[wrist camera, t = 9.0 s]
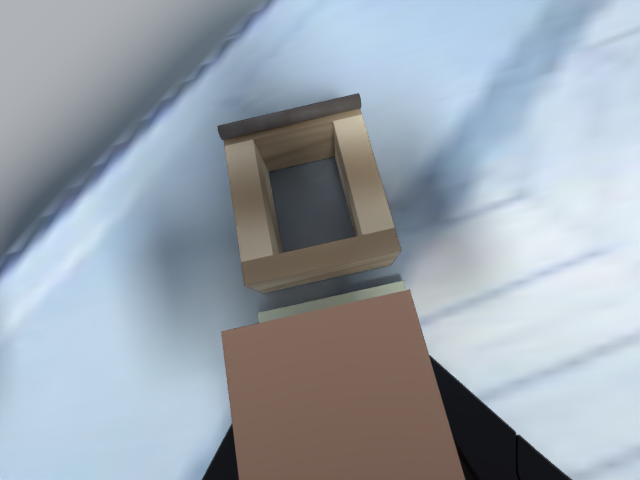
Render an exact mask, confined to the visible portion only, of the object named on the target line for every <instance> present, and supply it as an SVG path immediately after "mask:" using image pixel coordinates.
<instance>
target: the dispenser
mask: <svg viewBox="0 0 640 480" xmlns="http://www.w3.org/2000/svg"><path fill="white" fill-rule="evenodd" d="M360 108H361V99H360V95H359V93H358V94H354V95H349V96H345V97H341V98H336V99H332V100H328V101H323V102H319V103H315V104H310V105H306V106H302V107H297V108H293V109H289V110H284V111H280V112H276V113H271V114H267V115H263V116H258V117H254V118H250V119H245V120H241V121H237V122H232V123H228V124H224V125H219V126H218V132H219V135H220V137H221V139H222V140H224V147H225V154H226V161H227V168H228V175H229V182H230V189H231V196H232V203H233V210H234V217H235V224H236V231H237V238H238V245H239V252H240V259H241V265H242V272H243V279H244V286H247V287H249V288H251V289H254V290H256V291H259V292H261V293H268V292H273V291H277V290H282V289H286V288H291V287H295V286H300V285H304V284H309V283H313V282H318V281H322V280H327V279H331V278H336V277H340V276H345V275H349V274H354V273H358V272H363V271H367V270H372V269H376V268H381V267H385V266H390V265H391V264H392V263H393V261H394V260H395V259H396V257H397V256H398V255H399V253H400V252H401V247H400V244H399V240H398V237H397V233H396V230H395V227H394V223H393V220H392V216H391V213H390V209H389V206H388V203H387V199H386V196H385V192H384V189H383V185H382V182H381V179H380V175H379V172H378V168H377V165H376V161H375V158H374V154H373V151H372V148H371V144H370V141H369V137H368V134H367V130H366V127H365V124H364V120H363V117H362V113H361V110H360ZM331 157H335V158H336V162H337V166H338V170H339V174H340V178H341V182H342V186H343V190H344V194H345V198H346V202H347V206H348V210H349V214H350V218H351V222H352V226H353V230H354V234H355V237H351V238H347V239H342V240H338V241H333V242H329V243H324V244H320V245H315V246H311V247H306V248H302V249H298V250H293V251H289V252H284V253H283V247H282V242H281V236H280V231H279V225H278V220H277V214H276V209H275V204H274V198H273V193H272V187H271V182H270V176H269V172H270V171H274V170H279V169H283V168H287V167H292V166H296V165H301V164H305V163H309V162H314V161H318V160H322V159H327V158H331Z"/></svg>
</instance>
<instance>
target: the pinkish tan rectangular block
mask: <svg viewBox="0 0 640 480" xmlns="http://www.w3.org/2000/svg"><path fill="white" fill-rule="evenodd" d="M221 334H222V342H223V350H224V359H225V367H226V375H227V384H228V392H229V400H230V408H231V417H232V425H233V433H234V442H235V450H236V458H237V466H238V475H239V480H465V477H464V474H463V470H462V467H461V463H460V460H459V457H458V453H457V450H456V446H455V443H454V439H453V436H452V433H451V429H450V426H449V422H448V419H447V415H446V412H445V409H444V405H443V402H442V398H441V395H440V391H439V388H438V385H437V381H436V378H435V374H434V371H433V367H432V364H431V361H430V357H429V354H428V350H427V347H426V343H425V340H424V337H423V333H422V330H421V326H420V323H419V320H418V316H417V313H416V309H415V306H414V302H413V299H412V296H411V292H410V289H409V290H405V291H400V292H396V293H391V294H387V295H382V296H378V297H373V298H369V299H364V300H360V301H355V302H351V303H346V304H342V305H337V306H333V307H328V308H324V309H319V310H315V311H311V312H306V313H302V314H297V315H293V316H288V317H284V318H279V319H275V320H270V321H266V322H261V323H257V324H252V325H248V326H243V327H239V328H234V329H230V330H225V331H221Z"/></svg>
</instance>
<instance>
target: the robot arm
mask: <svg viewBox="0 0 640 480" xmlns="http://www.w3.org/2000/svg"><path fill="white" fill-rule="evenodd" d="M429 357H430V361H431V364H432V367H433V371H434V374H435V378H436V381H437V385H438V388H439V391H440V395H441V398H442V402H443V405H444V409H445V412H446V415H447V419H448V422H449V426H450V429H451V433H452V436H453V439H454V443H455V446H456V450H457V453H458V457H459V460H460V463H461V467H462V470H463V474H464V477H465V480H572V479H571V478H569V477H568V476H567V475H566V474H564V473H563V472H562V471H561V470H560V469H558V468H557V467H556V466H555V465H554V464H552V463H551V462H550V461H549V460H548V459H547V458H545V457H544V456H543V455H542V454H541V453H540V452H538V451H537V450H536V449H535V448H534V447H533V446H532V445H530V444H529V443H528V442H527V441H526V440H525V439H524V438H523V437H521V436H520V435H517V436H516V432H515V431H514V430H513V429H512V428H511V427H510V426H509V425H508V424H507V423H505V422H504V421H503V420H502V419H501V418H500V417H499V416H498V415H496V414H495V413H494V412H493V411H492V410H491V409H490V408H489V407H487V406H486V405H485V404H484V403H483V402H482V401H481V400H480V399H478V398H477V397H476V396H475V395H474V394H473V393H472V392H471V391H469V390H468V389H467V388H466V387H465V386H464V385H463V384H462V383H460V382H459V381H458V380H457V379H456V378H455V377H454V376H453V375H451V374H450V373H449V372H448V371H447V370H446V369H445V368H444V367H442V366H441V365H440V364H439V363H438V362H437V361H436V360H435V359H433V358H432V357H431V356H430V355H429ZM202 480H239V475H238V466H237V458H236V450H235V442H234V433H233V425H232V424H231V426H230V428H229V430H228V432H227V433H226V435H225V437H224V439H223V441H222V443H221V445H220V446H219V448H218V450H217V452H216V454H215V456H214V458H213V460H212V461H211V463H210V465H209V467H208V469H207V471H206V473H205V475H204V476H203V478H202Z"/></svg>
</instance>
